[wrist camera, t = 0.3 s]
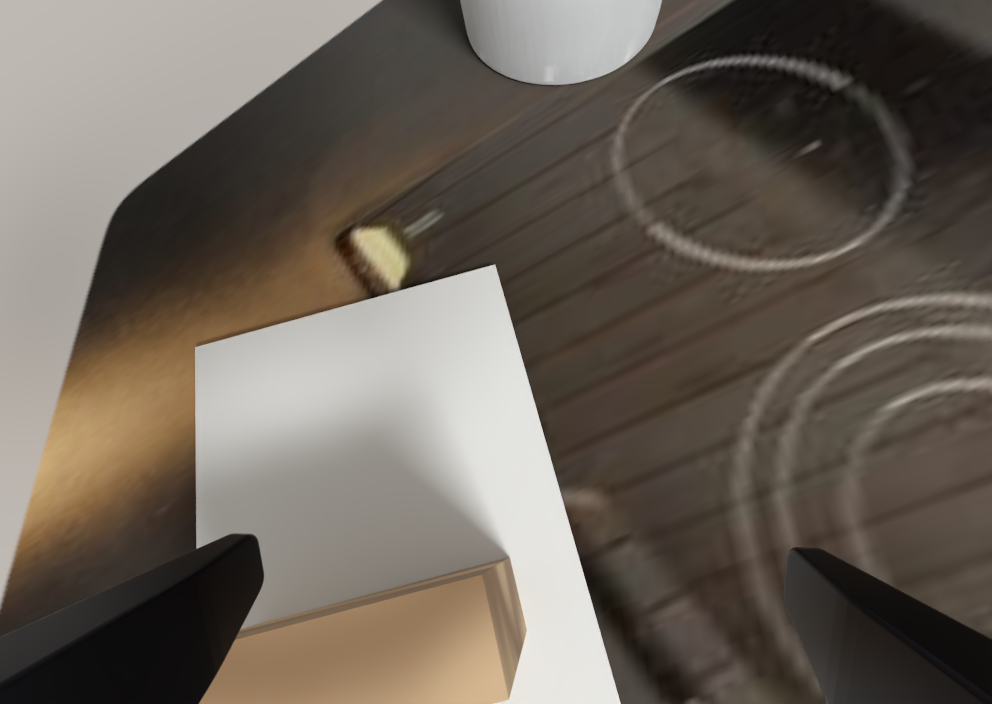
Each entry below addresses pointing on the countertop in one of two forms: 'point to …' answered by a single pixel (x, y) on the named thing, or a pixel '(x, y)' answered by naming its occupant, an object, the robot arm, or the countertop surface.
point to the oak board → (386, 647)
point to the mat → (396, 467)
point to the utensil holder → (558, 36)
